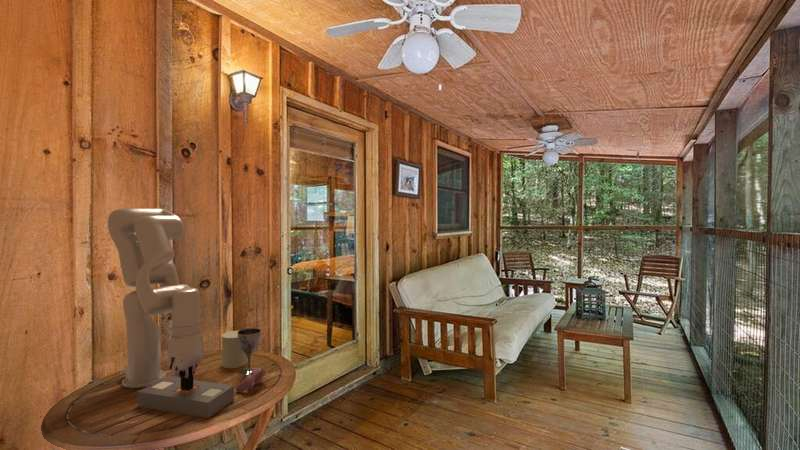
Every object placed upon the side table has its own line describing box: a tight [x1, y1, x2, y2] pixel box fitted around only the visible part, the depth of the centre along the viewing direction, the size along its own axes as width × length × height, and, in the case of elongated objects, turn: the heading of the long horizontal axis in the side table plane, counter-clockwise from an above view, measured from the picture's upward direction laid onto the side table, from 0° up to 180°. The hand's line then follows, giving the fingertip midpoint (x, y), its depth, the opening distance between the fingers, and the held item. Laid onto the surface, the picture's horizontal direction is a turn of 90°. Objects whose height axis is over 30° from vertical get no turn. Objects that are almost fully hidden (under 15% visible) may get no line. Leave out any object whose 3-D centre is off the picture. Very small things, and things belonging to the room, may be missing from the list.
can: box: [221, 330, 248, 369], centre depth 148 cm, size 9×9×12 cm
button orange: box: [175, 386, 198, 393], centre depth 117 cm, size 4×4×3 cm
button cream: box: [151, 381, 174, 390], centre depth 119 cm, size 4×4×3 cm
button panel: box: [137, 376, 235, 419], centre depth 117 cm, size 25×11×4 cm, turn 76°
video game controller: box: [235, 367, 266, 393], centre depth 128 cm, size 10×5×7 cm, turn 169°
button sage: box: [201, 388, 223, 397], centre depth 115 cm, size 4×4×3 cm
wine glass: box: [237, 327, 262, 377], centre depth 140 cm, size 8×8×15 cm
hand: (187, 388), depth 117 cm, fingers closed
